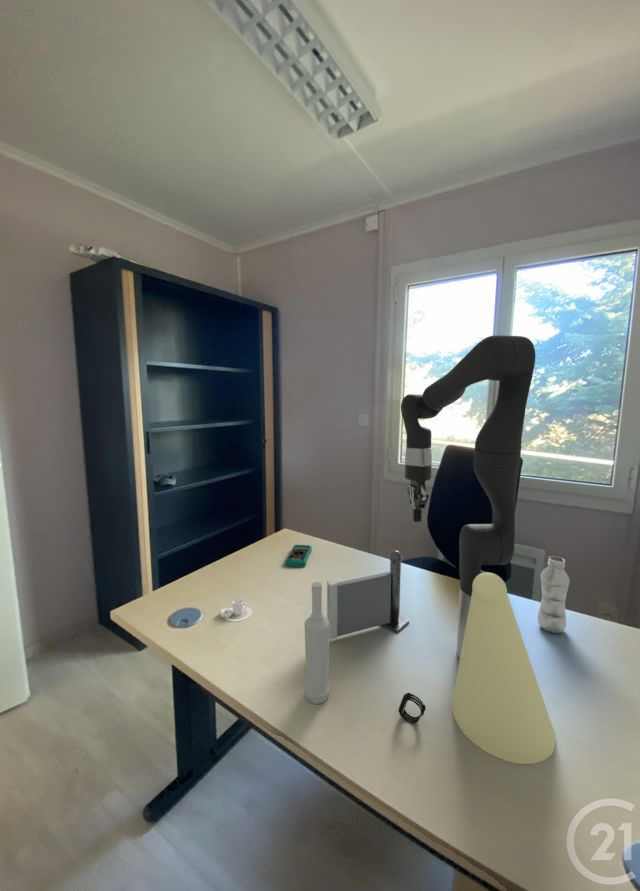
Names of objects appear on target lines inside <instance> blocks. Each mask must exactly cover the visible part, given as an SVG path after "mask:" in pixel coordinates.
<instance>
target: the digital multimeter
mask: <svg viewBox="0 0 640 891" xmlns="http://www.w3.org/2000/svg"><path fill="white" fill-rule="evenodd" d="M312 548H313V547H312V545H310V544H308V545H307V544H295V545H293V546H292V548H291V550H290V552H289V554H288V556H287V558H286V559H285V560H284V561H285V562H284V563H285V567H290V568H305V567H306V565H307V562H308V560H309V558H310V554H311V553H312Z"/></svg>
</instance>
